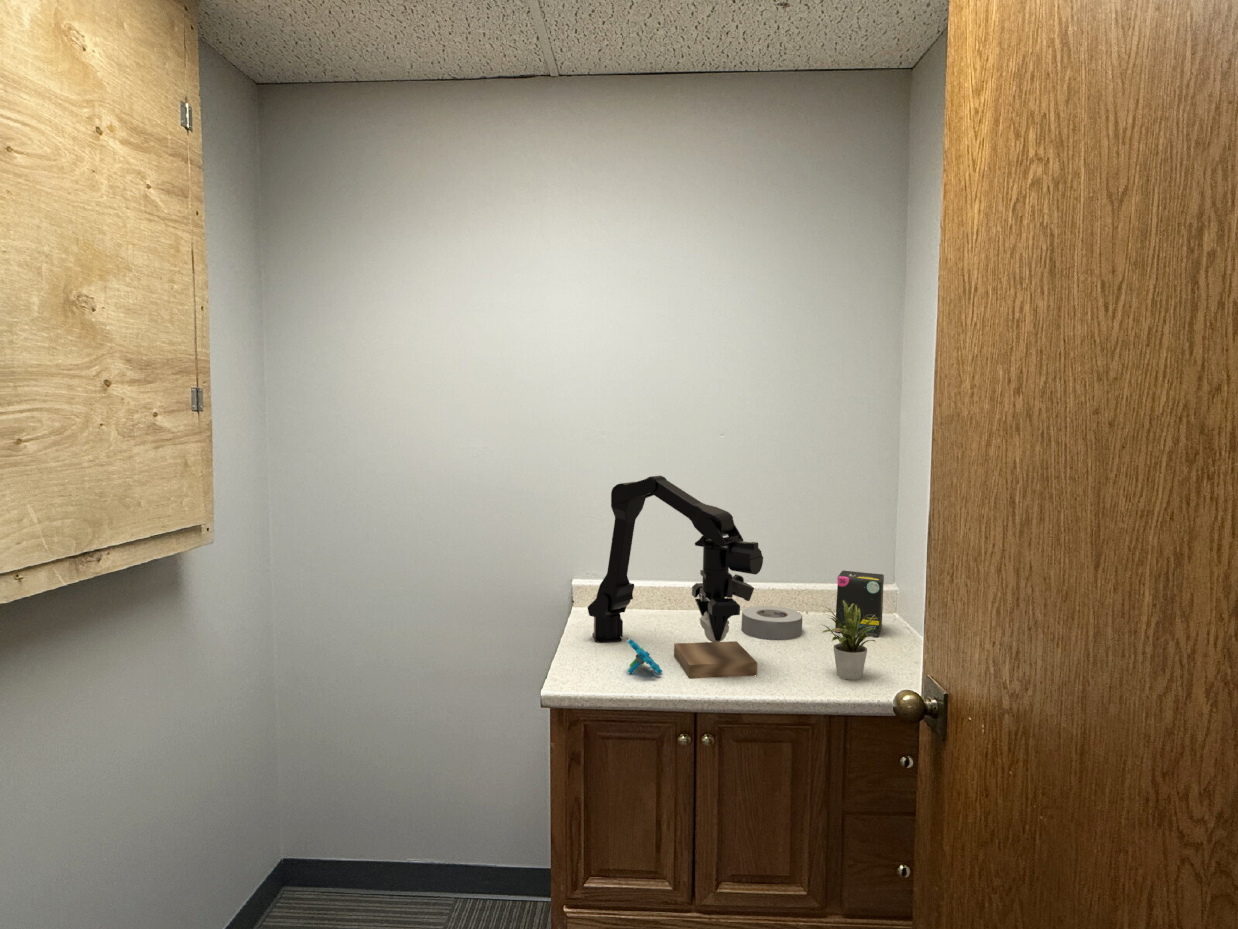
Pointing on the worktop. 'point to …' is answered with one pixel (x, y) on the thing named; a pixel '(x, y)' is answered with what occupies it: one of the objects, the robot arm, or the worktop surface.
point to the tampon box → (861, 599)
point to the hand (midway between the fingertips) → (714, 636)
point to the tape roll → (771, 623)
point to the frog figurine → (708, 631)
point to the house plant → (849, 644)
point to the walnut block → (714, 659)
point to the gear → (642, 658)
